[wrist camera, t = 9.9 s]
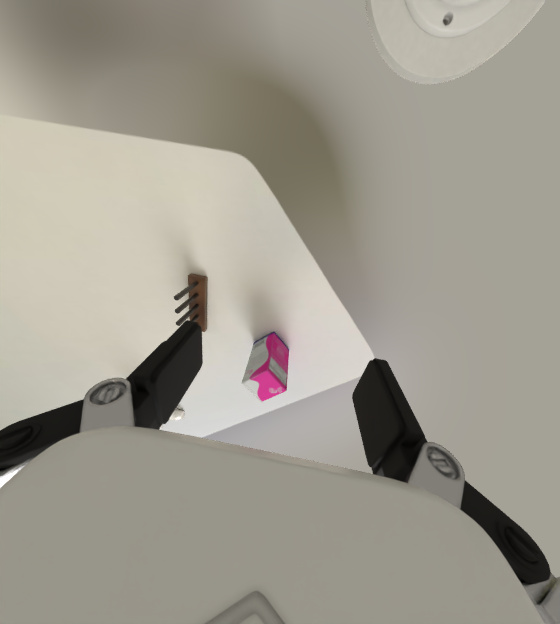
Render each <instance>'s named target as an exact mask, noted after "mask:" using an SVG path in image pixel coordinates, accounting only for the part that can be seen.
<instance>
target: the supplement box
mask: <svg viewBox="0 0 560 624" xmlns="http://www.w3.org/2000/svg"><path fill="white" fill-rule="evenodd" d="M288 357H289V349H288V348H287V347H286V345H285V344H284V343H283V342H282V341H281V339H280V338H279V337H278V336H277V335H276V333H275V332H272V333H271V334H269V335H267V336H265V337H263V338H262V339H260V340H258V341H257V342H255V343H254V345H253V348H252V351H251V355H250V358H249V361H248V364H247V367H246V371H245V374H244V377H243V380H242V384H243V385H244V386H245V387H246V388H247V389H248V390H250V391H251V392H252V393H253V394H254V395H255V396H256V397H257V398H258V399H259V400H260V401H261V402H262V401H264V400H267V399H269V398H271V397H273V396H276V395H278V394H280V393H282V392H285V391H286V390H287V374H288Z"/></svg>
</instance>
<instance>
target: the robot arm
mask: <svg viewBox="0 0 560 624" xmlns="http://www.w3.org/2000/svg"><path fill="white" fill-rule="evenodd" d="M509 1H510V0H405V2H406V6H407V8H408V10H409V12H410V14H411V16H412V18H413V20H414V21H415V22H416V23H417V24H418V26H419V27H420V28H421V29H423V30H424V31H426V32H427V33H429V34H430V35H434V36H437V37H441V38H450V37H457V36H460V35H464V34H467V33H469V32H471V31H473V30H475V29H477V28H479V27H480V26H482V25H483V24H484V23H486V22H487V21H488V20H490V19H491V18H493V17H494V16H495V15H496V14H497V13H498V12H499V11H500V10H501V9H502V8H503V7H504V6H505V5H506V4H507V3H508V2H509ZM443 22H444V23H445V25H444V24H443ZM201 366H202V328H201V326H200V325H199V324H198V322H193V321H188V320H187V321H185V322H184V323H183V324H182V325H181V326H180V327H179V328H178V329H177V330H176V332H175V333H174V334H173V335H172V336H171V337H170V338H169V339H168V340H167V341H164V342H163V343H161V344H160V345H159V346H158V347H157V348H156V349H155V350H154V351H153V352H152V353H151V354H150V355H149V356H148V357H147V358H146V359H145V360H144V361H143V362H142V363H141V364H140V365H139V366H138V367H137V368H136V369H135V370H134V371H133V372H132V373H131V374H130V375H129V376H128V377H127V378H126V379H124V378H112V379H107V380H105V381H102V382H100V383H98V384H96V385H95V386H93V387H92V388H91V389H90V390H89V391H88V392H87V393H86V395H85V398H84V399H83V400H80V401H77V402H74V403H71V404H68V405H65V406H63V407H60V408H57V409H54V410H51V411H48V412H45V413H42V414H39V415H36V416H33V417H30V418H27V419H24V420H21V421H19V422H16V423H14V424H11V425H9V426H8V427H6V428H4V429H2V430H1V431H0V624H560V577H558V578H555V577H554V576H553V575H552V573H551V572H550V568H549V564H548V562H547V560H546V558H545V556H544V554H543V553H542V551H541V550H540V548H539V547H538V546H537V544H536V543H535V542H534V540H533V539H532V538H531V537H530V536H529V535H528V534H527V533H526V532H525V531H524V530H523V529H522V528H521V527H520V526H519V525H518V524H516V523H515V522H514V521H513V520H511V519H510V518H509V517H508V516H507V515H506V514H505V513H503V512H502V511H501V510H500V509H499V508H497V507H496V506H495V505H494V504H493V503H491V502H490V501H489V500H488V499H487V498H485V497H484V496H483V495H482V494H481V493H480V492H478V491H477V490H476V489H475V488H474V487H472V486H471V485H470V484H469V483H467V482H466V481H465V474H464V471H463V468H462V466H461V465H460V463H459V462H458V460H457V459H456V458H455V457H454V456H453V455H452V454H451V453H450V452H449V451H448V450H447V449H445V448H444V447H442V446H441V445H438V444H436V443H433V442H427V440H426V439H425V435H424V433H423V431H422V429H421V427H420V425H419V423H418V421H417V420H416V418H415V416H414V414H413V412H412V410H411V408H410V406H409V404H408V402H407V400H406V398H405V396H404V394H403V392H402V390H401V388H400V386H399V384H398V382H397V380H396V378H395V376H394V374H393V372H392V370H391V368H390V366H389V364H388V362H387V361H385V360H380V359H376V358H375V359H373V361H372V360H370V361H369V363H368V365H367V367H366V369H365V371H364V373H363V375H362V377H361V379H360V380H359V383H358V384H357V386H356V388H355V390H354V392H353V397H352V399H353V403H354V407H355V412H356V415H357V420H358V424H359V429H360V432H361V437H362V441H363V445H364V450H365V454H366V458H367V462H368V465H369V466H370V467H372V471H373V474H370V473H365V472H361V471H357V470H352V469H347V468H343V467H338V466H333V465H328V464H324V463H319V462H315V461H310V460H306V459H301V458H296V457H291V456H286V455H281V454H277V453H272V452H267V451H263V450H258V449H253V448H248V447H243V446H238V445H234V444H229V443H224V442H219V441H214V440H209V439H203V438H199V437H194V436H190V435H184V434H179V433H173V432H168V431H162V430H159V429H160V427H161V425H162V424H166V423H167V421H168V420H169V418H170V417H171V415H172V414H173V412H174V410H175V409H176V407H177V406H178V404H179V402H180V401H181V399H182V397H183V396H184V394H185V393H186V391H187V389H188V388H189V386H190V385H191V383H192V381H193V380H194V378H195V376H196V375H197V373H198V372H199V370H200V368H201Z"/></svg>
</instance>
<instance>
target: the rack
mask: <svg viewBox="0 0 560 624" xmlns="http://www.w3.org/2000/svg"><path fill="white" fill-rule="evenodd" d="M188 285H189V286H188V287H187V288H185V289H184V290H182V291H181V292H180V293H178V294H177V295H175V296H174V299H175V300H179V299H180V298H182V297H183V296H184V295H185V294H187V293H188V292H189V299H188V300H186V301H185V302H184V303H183V304H182V305H180V306H179V307H178V308H177V309H175V312H176V313H180V312H181V311H182V310H183V309H184V308H186V307H187V306H188V305H189V311H188V312H187V313H185V314H184V315H183V316H182V317H181V318H180V319H179V320H178V321H177V322H176V325H178V326H180V325H181V324H182V323H183V322H184V321H185V320H186V319H187V318H188V317H189V316H190V321H193V322H198V324H199V325H200V326H201V328H202V332H205V331H206V330H207V277H205V276H200V275H195V274H190V275H188Z"/></svg>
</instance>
